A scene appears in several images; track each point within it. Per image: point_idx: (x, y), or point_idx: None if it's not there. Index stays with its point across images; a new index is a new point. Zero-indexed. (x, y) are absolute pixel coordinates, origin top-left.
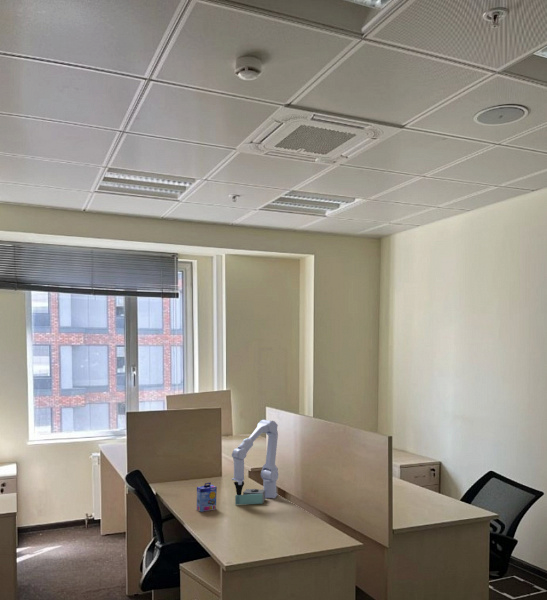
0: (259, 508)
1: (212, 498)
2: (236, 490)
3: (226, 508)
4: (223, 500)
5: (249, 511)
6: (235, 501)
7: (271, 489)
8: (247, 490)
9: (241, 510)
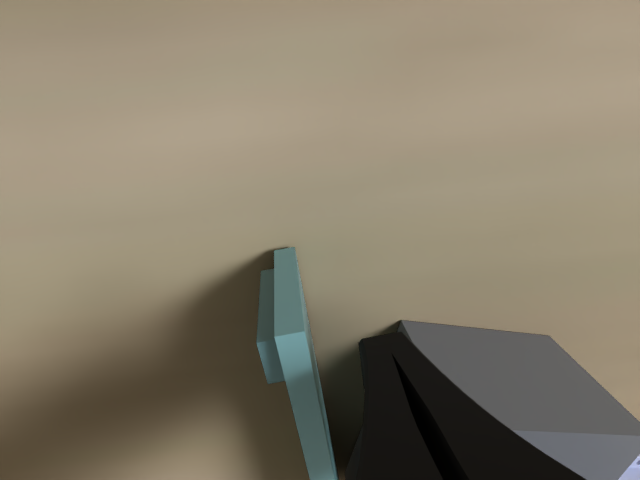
0: (164, 477)
1: None
2: (365, 417)
3: (83, 129)
4: (572, 33)
5: (19, 419)
6: (274, 274)
7: None
8: (562, 458)
9: (34, 341)
